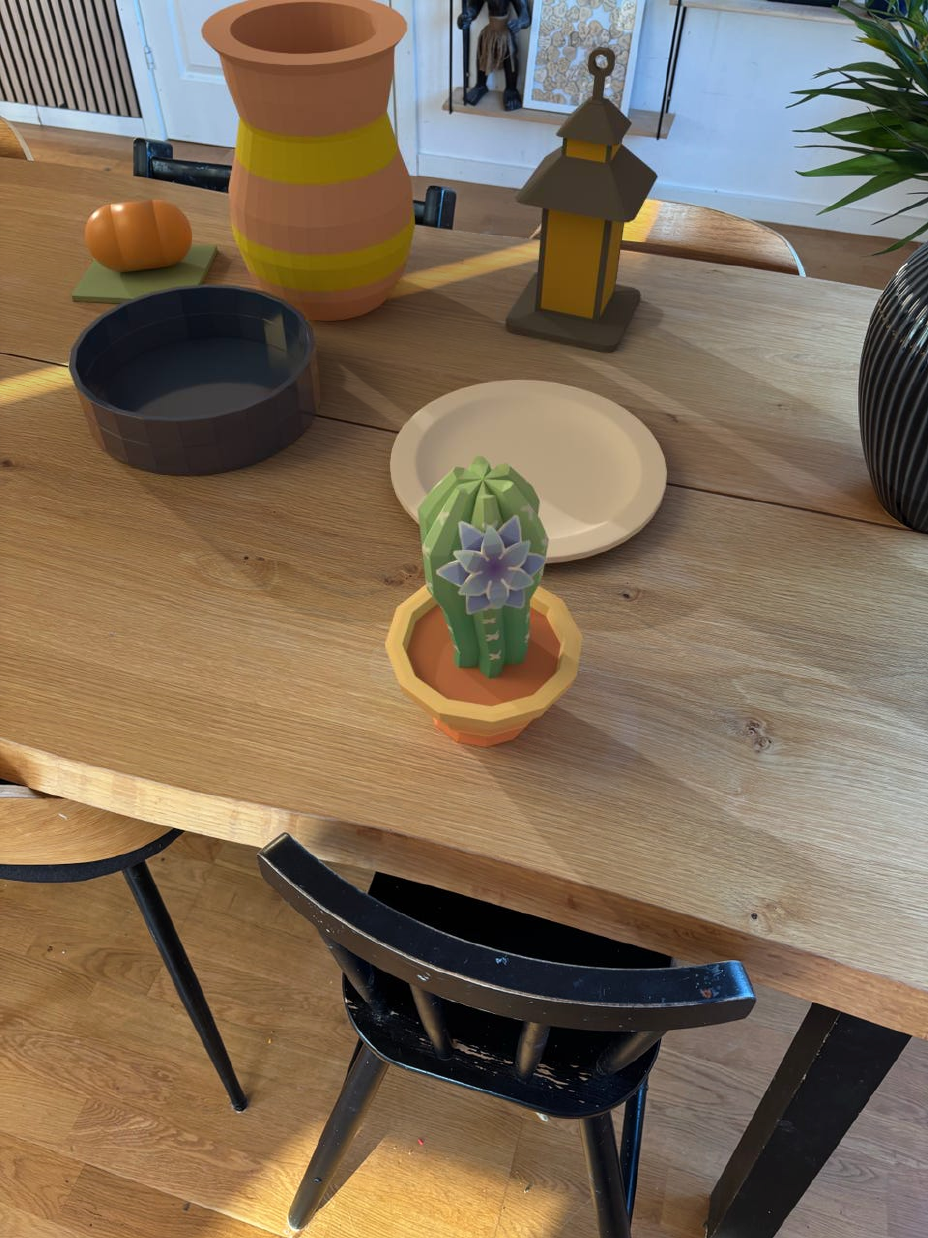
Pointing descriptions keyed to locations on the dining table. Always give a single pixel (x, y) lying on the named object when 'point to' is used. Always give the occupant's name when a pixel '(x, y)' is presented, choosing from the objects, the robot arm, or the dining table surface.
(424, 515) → the potted cactus
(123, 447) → the bowl
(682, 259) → the dining table surface
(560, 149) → the lantern
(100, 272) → the mat
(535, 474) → the plate
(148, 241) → the orange capsule
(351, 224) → the vase
